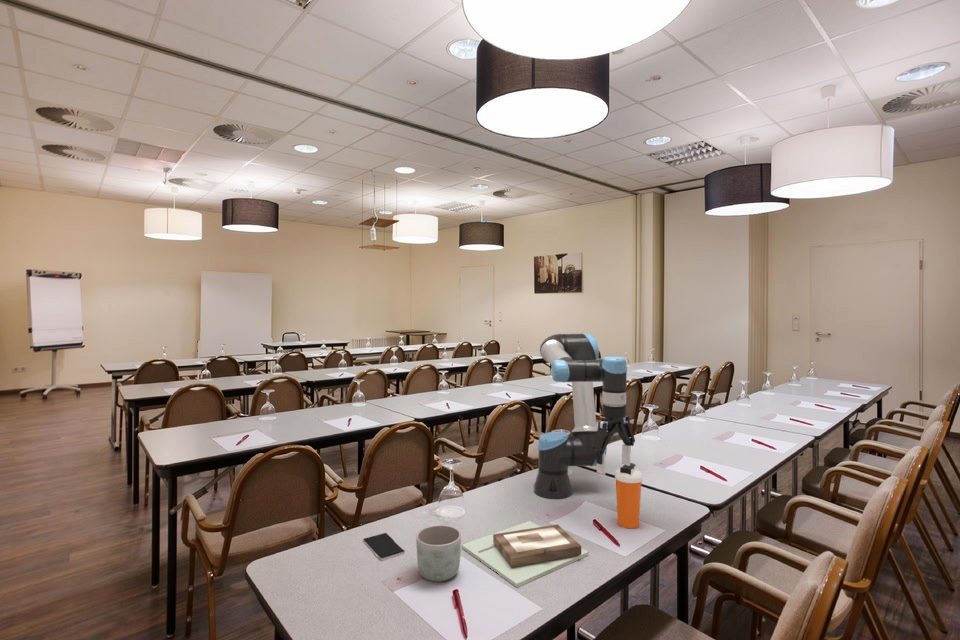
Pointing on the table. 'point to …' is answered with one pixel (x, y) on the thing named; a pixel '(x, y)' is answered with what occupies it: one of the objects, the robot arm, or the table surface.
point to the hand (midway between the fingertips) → (613, 469)
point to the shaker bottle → (628, 495)
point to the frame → (536, 545)
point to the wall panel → (518, 574)
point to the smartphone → (384, 546)
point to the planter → (438, 552)
